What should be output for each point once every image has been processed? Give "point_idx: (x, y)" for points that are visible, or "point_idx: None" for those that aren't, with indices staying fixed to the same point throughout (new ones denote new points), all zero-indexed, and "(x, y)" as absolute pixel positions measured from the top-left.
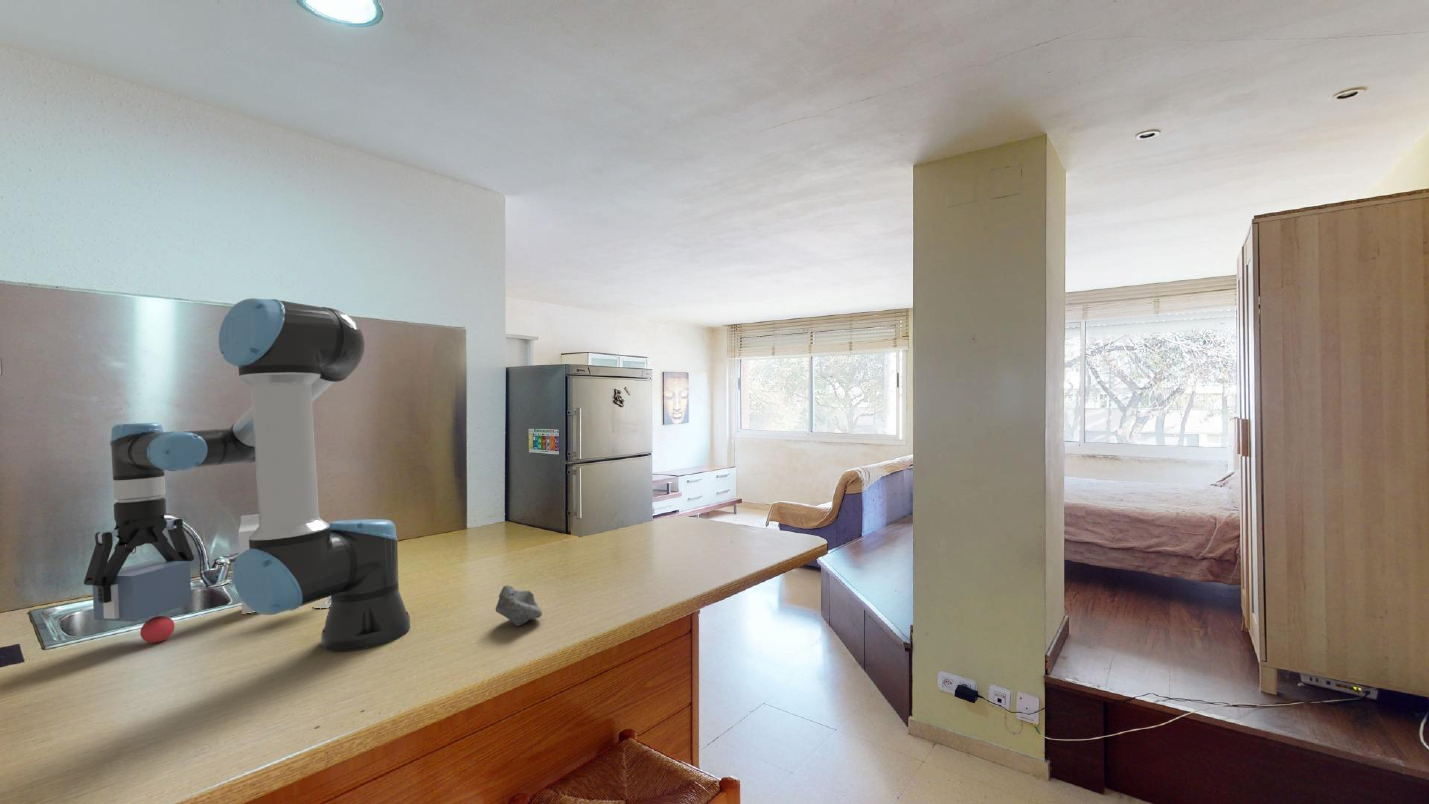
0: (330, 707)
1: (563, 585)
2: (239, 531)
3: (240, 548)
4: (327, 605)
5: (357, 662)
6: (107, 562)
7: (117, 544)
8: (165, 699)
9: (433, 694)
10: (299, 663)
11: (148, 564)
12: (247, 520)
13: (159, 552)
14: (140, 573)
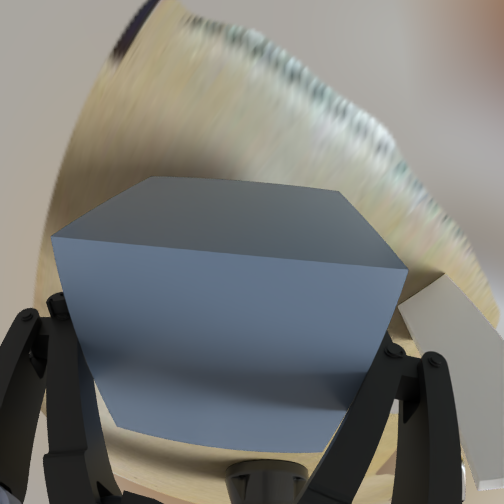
0: (152, 479)
1: (375, 495)
2: (482, 480)
3: (463, 436)
4: (395, 405)
5: (210, 480)
6: (46, 387)
7: (51, 486)
8: (111, 417)
9: (181, 498)
10: (199, 461)
11: (291, 354)
12: None
13: (345, 423)
14: (145, 429)
